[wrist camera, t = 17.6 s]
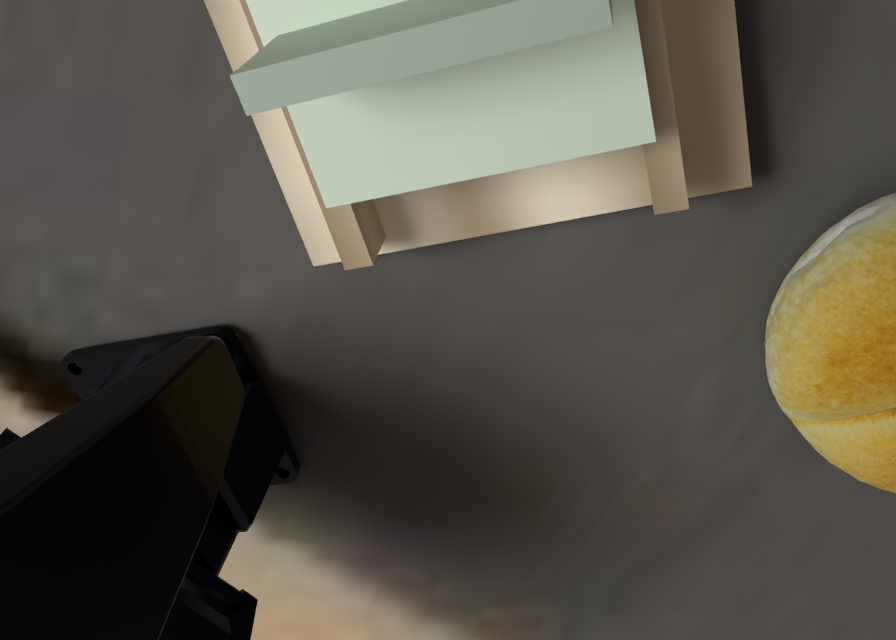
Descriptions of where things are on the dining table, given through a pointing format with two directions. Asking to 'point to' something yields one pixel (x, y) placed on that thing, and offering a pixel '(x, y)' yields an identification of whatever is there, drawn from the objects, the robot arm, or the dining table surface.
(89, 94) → the dining table surface
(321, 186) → the lid
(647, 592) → the dining table surface
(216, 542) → the robot arm
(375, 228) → the board
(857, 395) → the bread roll
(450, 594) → the dining table surface
